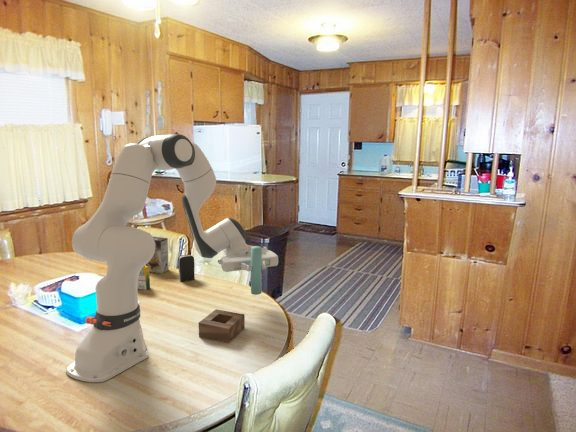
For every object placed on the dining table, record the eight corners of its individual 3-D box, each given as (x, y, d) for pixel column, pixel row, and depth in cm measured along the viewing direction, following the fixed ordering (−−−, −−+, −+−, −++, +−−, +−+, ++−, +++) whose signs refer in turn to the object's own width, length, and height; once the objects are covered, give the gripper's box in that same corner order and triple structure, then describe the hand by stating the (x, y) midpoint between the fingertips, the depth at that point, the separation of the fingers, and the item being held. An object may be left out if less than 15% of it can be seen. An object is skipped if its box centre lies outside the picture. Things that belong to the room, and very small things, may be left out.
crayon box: (150, 287, 171) (149, 261, 169) (146, 290, 168) (144, 263, 166) (135, 285, 173) (134, 260, 171) (131, 288, 170) (129, 262, 168)
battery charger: (192, 276, 185) (191, 253, 182) (195, 279, 181) (194, 255, 179) (177, 279, 181) (176, 255, 179) (180, 282, 178) (179, 257, 176)
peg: (258, 295, 134) (258, 249, 131) (249, 293, 135) (249, 248, 132) (263, 291, 138) (263, 246, 135) (253, 290, 139) (253, 245, 136)
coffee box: (145, 271, 191) (143, 239, 188) (153, 267, 197) (151, 235, 194) (161, 273, 188) (159, 240, 185) (169, 269, 194) (167, 237, 191)
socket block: (228, 343, 126) (228, 328, 125) (199, 336, 130) (198, 322, 129) (244, 328, 136) (244, 314, 135) (216, 322, 140) (216, 309, 139)
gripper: (216, 251, 141) (227, 262, 129) (269, 246, 150) (284, 256, 138) (216, 268, 143) (227, 281, 130) (269, 262, 151) (284, 273, 139)
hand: (257, 268), depth 134 cm, fingers closed on peg, 4 cm apart
